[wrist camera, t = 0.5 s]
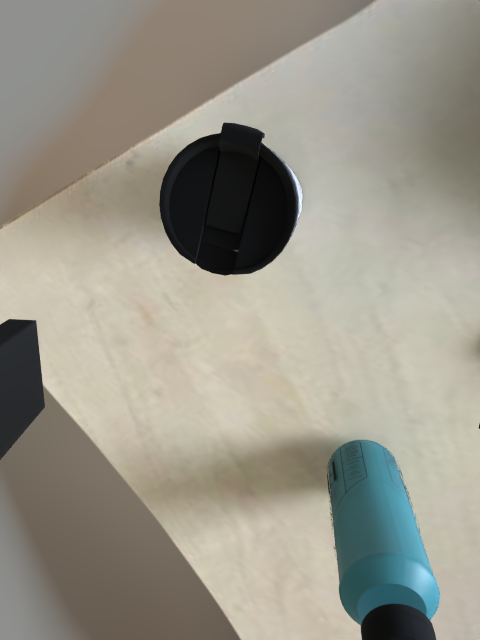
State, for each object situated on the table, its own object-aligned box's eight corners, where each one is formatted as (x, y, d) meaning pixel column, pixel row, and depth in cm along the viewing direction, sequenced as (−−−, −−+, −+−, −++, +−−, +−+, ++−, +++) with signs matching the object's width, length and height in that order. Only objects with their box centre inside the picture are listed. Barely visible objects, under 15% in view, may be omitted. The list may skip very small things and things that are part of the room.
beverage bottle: (323, 430, 44) (335, 618, 24) (395, 426, 42) (466, 620, 23) (328, 489, 45) (344, 707, 26) (398, 487, 44) (467, 714, 25)
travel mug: (313, 166, 37) (319, 143, 18) (291, 244, 39) (275, 298, 20) (240, 147, 37) (170, 104, 18) (221, 225, 39) (141, 260, 20)
